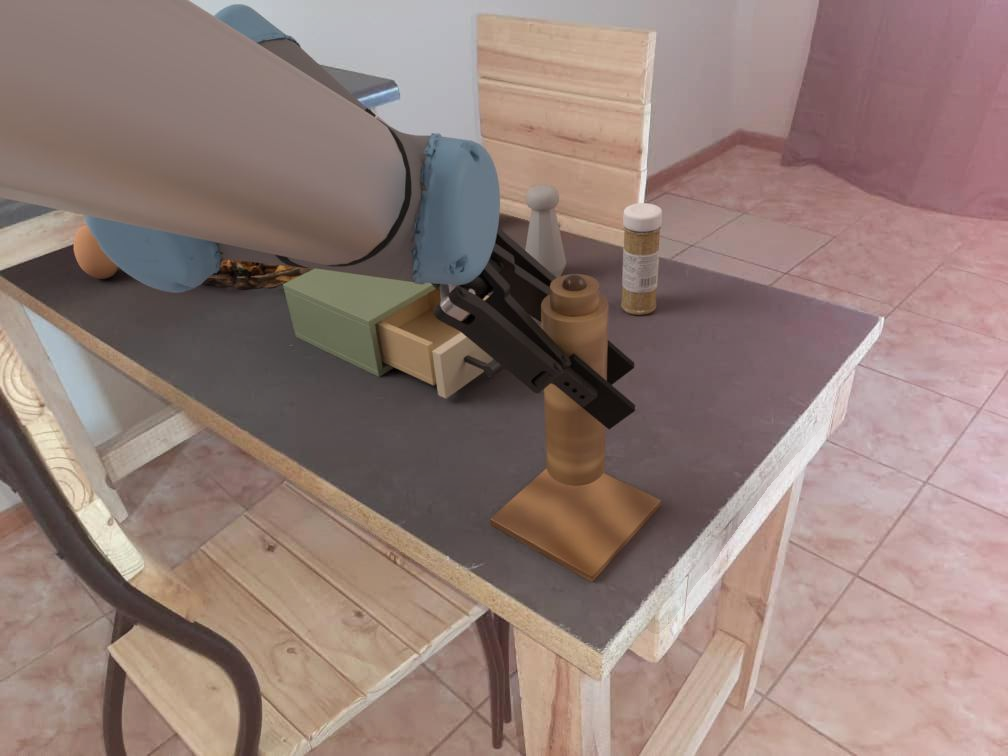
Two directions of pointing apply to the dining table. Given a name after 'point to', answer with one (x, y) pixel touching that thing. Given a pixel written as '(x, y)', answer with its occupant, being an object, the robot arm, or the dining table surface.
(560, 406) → the pepper mill
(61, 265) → the dining table surface
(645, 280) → the spice jar
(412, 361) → the drawer
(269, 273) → the food dish
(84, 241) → the egg
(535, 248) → the salt shaker
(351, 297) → the cabinet
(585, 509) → the square wooden board
